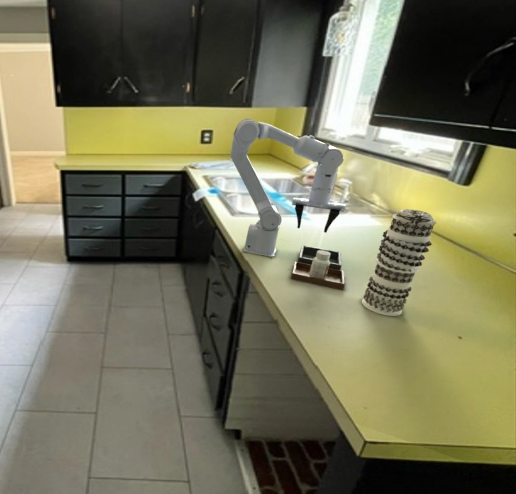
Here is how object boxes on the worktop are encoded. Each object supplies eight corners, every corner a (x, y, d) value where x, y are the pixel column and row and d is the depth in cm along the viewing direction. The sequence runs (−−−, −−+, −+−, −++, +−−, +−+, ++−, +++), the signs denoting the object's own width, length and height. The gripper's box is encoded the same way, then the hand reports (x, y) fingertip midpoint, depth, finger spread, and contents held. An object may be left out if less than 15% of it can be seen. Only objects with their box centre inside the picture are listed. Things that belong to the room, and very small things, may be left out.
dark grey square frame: (297, 265, 113) (299, 257, 112) (299, 253, 122) (301, 244, 121) (338, 274, 108) (341, 265, 107) (338, 260, 117) (340, 251, 116)
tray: (290, 278, 106) (292, 273, 105) (293, 266, 113) (295, 261, 112) (342, 290, 100) (344, 284, 99) (342, 276, 107) (344, 270, 106)
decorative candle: (377, 317, 88) (414, 219, 77) (352, 297, 96) (381, 206, 86) (413, 316, 88) (454, 218, 78) (384, 296, 97) (417, 206, 86)
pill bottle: (327, 280, 104) (334, 256, 101) (311, 279, 105) (317, 254, 101) (323, 273, 108) (329, 250, 104) (307, 272, 108) (313, 248, 105)
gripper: (295, 187, 111) (286, 229, 116) (350, 193, 104) (337, 237, 110) (297, 182, 116) (288, 222, 122) (349, 188, 110) (337, 230, 116)
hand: (311, 229), depth 116 cm, fingers open, 7 cm apart
